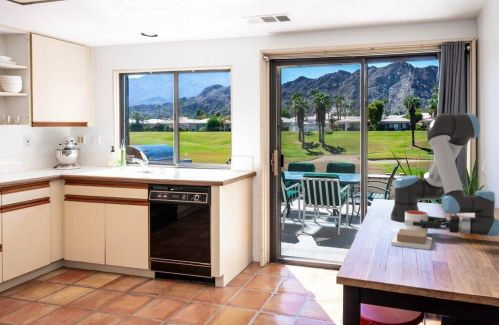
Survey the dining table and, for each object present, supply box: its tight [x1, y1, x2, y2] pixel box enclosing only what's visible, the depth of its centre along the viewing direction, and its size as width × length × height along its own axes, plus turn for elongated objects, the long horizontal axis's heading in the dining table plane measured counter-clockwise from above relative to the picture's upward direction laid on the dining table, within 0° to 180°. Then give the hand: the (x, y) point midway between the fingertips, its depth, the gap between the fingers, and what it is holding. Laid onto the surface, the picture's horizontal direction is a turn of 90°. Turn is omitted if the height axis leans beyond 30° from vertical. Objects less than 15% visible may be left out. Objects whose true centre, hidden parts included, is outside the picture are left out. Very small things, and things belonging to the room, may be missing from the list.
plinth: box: [390, 228, 433, 251], centre depth 188 cm, size 15×15×4 cm
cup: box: [404, 210, 429, 234], centre depth 204 cm, size 10×10×10 cm
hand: (406, 220), depth 206 cm, fingers closed on cup, 10 cm apart
